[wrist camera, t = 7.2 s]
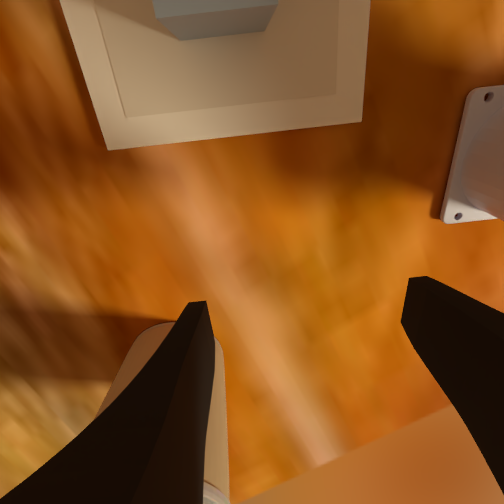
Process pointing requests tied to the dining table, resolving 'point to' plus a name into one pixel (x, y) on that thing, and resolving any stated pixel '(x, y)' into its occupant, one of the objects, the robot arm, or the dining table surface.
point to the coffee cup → (217, 423)
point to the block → (213, 17)
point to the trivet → (219, 71)
